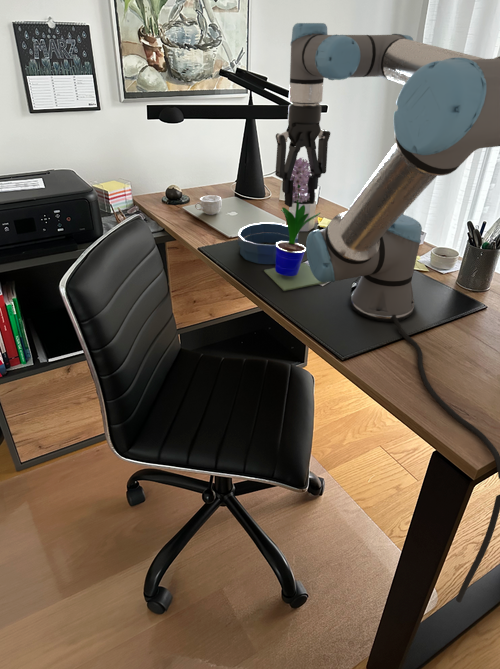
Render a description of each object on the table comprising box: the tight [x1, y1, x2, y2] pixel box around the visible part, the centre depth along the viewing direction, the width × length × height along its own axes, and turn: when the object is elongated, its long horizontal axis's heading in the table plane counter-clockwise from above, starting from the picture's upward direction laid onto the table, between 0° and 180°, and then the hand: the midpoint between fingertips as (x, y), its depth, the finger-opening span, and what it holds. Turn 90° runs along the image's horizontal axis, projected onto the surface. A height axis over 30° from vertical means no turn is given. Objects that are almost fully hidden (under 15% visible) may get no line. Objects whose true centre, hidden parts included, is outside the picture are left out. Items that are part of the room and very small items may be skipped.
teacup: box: [194, 194, 222, 216], centre depth 174 cm, size 10×8×5 cm
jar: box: [288, 189, 317, 232], centre depth 161 cm, size 9×8×12 cm
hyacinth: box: [274, 157, 321, 276], centre depth 123 cm, size 9×10×30 cm
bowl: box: [237, 222, 300, 265], centre depth 144 cm, size 18×18×6 cm
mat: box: [263, 262, 328, 292], centre depth 132 cm, size 13×13×1 cm
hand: (299, 203), depth 121 cm, fingers closed on hyacinth, 5 cm apart
